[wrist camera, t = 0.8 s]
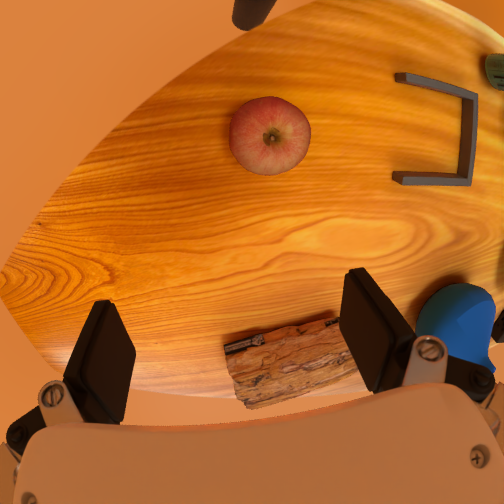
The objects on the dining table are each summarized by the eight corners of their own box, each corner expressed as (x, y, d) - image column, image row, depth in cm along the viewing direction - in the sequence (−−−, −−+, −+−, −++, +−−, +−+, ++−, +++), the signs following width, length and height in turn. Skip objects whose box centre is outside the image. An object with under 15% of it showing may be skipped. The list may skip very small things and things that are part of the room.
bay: (394, 72, 27) (406, 72, 24) (466, 92, 28) (478, 93, 25) (392, 179, 34) (402, 185, 32) (460, 181, 35) (471, 186, 32)
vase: (481, 273, 45) (536, 330, 29) (440, 339, 54) (479, 399, 37) (433, 260, 41) (502, 334, 25) (385, 340, 50) (428, 418, 33)
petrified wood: (339, 298, 42) (366, 352, 34) (339, 337, 50) (359, 383, 43) (217, 338, 42) (227, 398, 35) (241, 370, 51) (251, 418, 43)
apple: (212, 145, 30) (211, 158, 23) (250, 84, 27) (261, 77, 20) (274, 179, 32) (290, 202, 25) (311, 122, 29) (339, 129, 22)
